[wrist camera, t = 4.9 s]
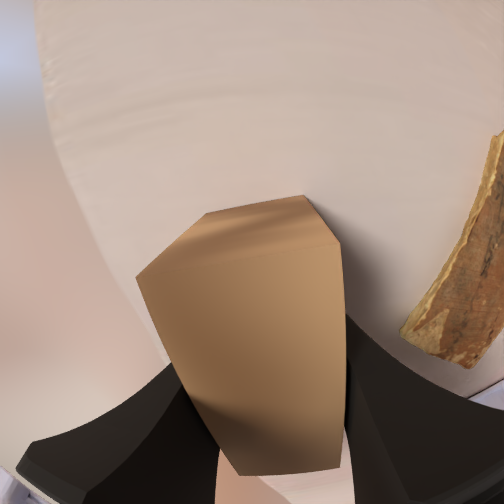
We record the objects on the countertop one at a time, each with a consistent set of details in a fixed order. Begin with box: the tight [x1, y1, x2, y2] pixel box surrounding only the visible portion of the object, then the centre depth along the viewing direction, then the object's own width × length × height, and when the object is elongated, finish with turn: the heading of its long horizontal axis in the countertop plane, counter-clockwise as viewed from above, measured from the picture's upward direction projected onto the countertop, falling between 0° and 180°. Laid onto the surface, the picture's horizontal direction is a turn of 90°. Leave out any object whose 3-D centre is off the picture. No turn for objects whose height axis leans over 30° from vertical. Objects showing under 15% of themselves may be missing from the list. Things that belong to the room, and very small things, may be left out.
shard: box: [399, 130, 504, 369], centre depth 9 cm, size 11×8×2 cm
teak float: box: [136, 195, 346, 476], centre depth 8 cm, size 4×8×6 cm, turn 12°
